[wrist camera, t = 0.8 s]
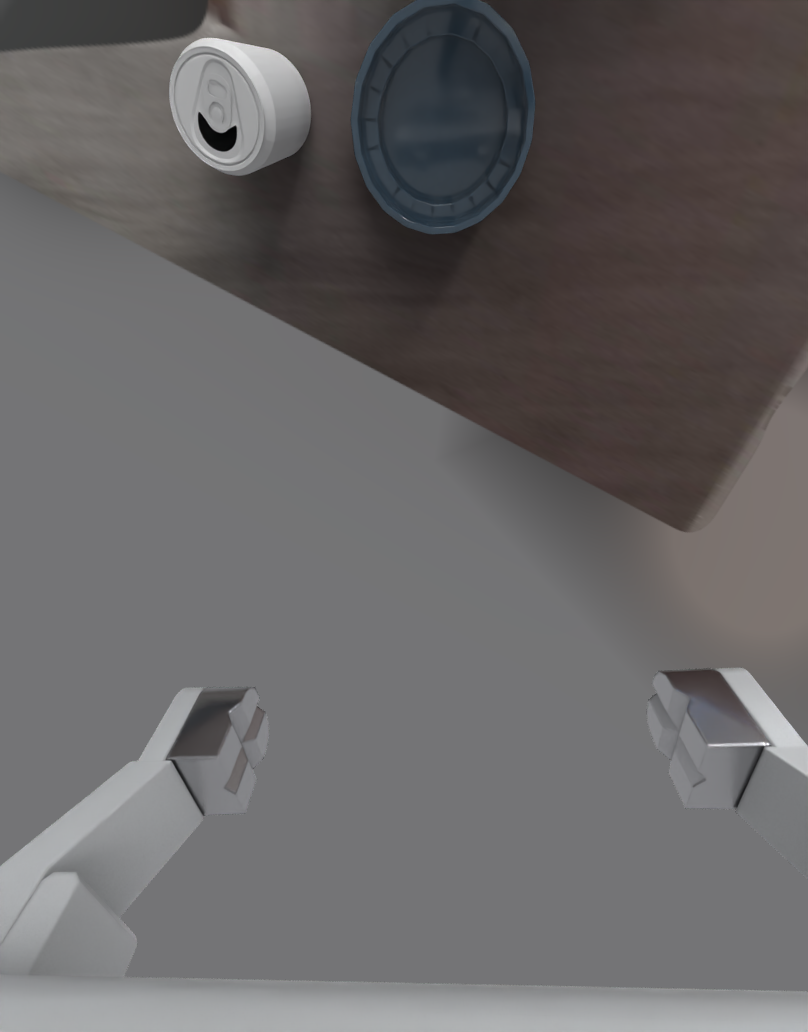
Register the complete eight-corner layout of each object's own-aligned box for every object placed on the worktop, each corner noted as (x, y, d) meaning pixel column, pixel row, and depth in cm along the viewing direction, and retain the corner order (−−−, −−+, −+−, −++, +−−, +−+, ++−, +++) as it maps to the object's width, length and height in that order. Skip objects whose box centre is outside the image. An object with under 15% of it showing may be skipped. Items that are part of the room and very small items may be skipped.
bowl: (462, -60, 30) (463, -77, 26) (557, 139, 36) (567, 145, 33) (326, 112, 36) (314, 115, 33) (428, 254, 42) (426, 269, 39)
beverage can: (231, 140, 38) (165, 158, 29) (234, 32, 33) (157, 15, 25) (307, 169, 39) (265, 194, 30) (319, 67, 34) (274, 62, 26)
